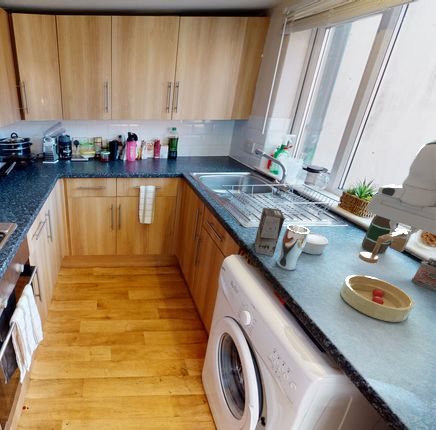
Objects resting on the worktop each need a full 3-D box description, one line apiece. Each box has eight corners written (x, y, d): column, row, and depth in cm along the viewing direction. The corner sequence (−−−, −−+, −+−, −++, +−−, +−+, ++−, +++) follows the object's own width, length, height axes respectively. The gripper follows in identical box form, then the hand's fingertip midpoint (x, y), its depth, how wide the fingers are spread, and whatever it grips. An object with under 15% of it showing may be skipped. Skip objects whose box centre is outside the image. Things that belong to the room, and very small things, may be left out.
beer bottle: (368, 252, 113) (394, 196, 103) (356, 243, 120) (379, 189, 110) (390, 255, 112) (418, 197, 102) (377, 245, 119) (402, 190, 109)
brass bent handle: (371, 264, 85) (381, 244, 82) (355, 257, 88) (364, 237, 86) (405, 252, 92) (415, 233, 89) (389, 245, 95) (398, 227, 92)
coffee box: (274, 256, 109) (285, 218, 102) (255, 253, 111) (265, 215, 104) (271, 245, 117) (281, 209, 110) (253, 242, 119) (263, 206, 112)
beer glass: (279, 257, 108) (290, 222, 102) (299, 265, 104) (312, 229, 97) (272, 265, 104) (283, 228, 97) (293, 273, 99) (306, 235, 93)
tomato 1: (383, 298, 88) (387, 291, 86) (378, 300, 87) (382, 293, 85) (373, 293, 90) (377, 286, 89) (369, 295, 89) (372, 288, 88)
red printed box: (411, 282, 96) (425, 257, 92) (411, 278, 98) (424, 253, 94) (445, 293, 91) (462, 267, 87) (444, 288, 93) (460, 263, 89)
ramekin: (312, 241, 120) (316, 230, 118) (331, 256, 110) (336, 244, 108) (286, 241, 120) (289, 230, 118) (303, 256, 110) (307, 244, 107)
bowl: (417, 314, 82) (425, 300, 80) (387, 330, 77) (395, 316, 75) (358, 282, 95) (364, 270, 93) (328, 294, 90) (334, 281, 87)
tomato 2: (383, 306, 84) (387, 299, 83) (378, 308, 83) (382, 301, 82) (373, 300, 86) (376, 293, 85) (368, 302, 86) (371, 296, 84)
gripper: (474, 206, 77) (449, 250, 82) (384, 183, 94) (368, 221, 99) (463, 209, 74) (437, 254, 80) (373, 186, 91) (357, 224, 97)
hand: (398, 236), depth 90 cm, fingers closed on brass bent handle, 2 cm apart
